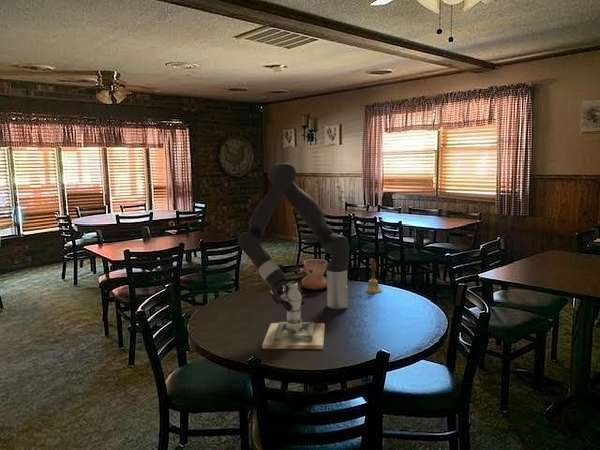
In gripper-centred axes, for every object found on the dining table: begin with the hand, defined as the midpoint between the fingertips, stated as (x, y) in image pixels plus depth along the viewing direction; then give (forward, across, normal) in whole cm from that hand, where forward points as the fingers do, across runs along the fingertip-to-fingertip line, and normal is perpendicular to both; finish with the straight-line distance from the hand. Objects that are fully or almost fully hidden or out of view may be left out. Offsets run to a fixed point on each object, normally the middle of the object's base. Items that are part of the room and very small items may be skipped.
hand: (297, 307), depth 180 cm
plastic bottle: (+7, 0, +9) cm, 11 cm away
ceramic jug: (-13, +60, +30) cm, 69 cm away
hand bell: (+7, +70, +10) cm, 71 cm away
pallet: (+8, 0, +10) cm, 12 cm away
